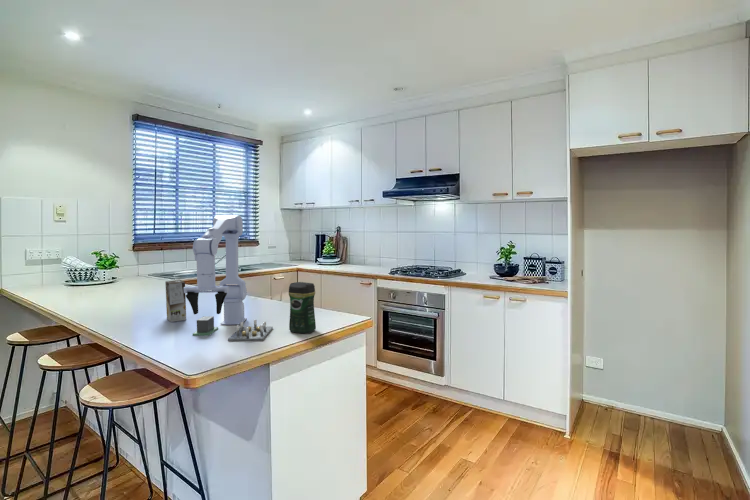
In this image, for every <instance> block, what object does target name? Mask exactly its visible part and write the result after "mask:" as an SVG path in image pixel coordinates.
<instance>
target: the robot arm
mask: <svg viewBox="0 0 750 500" xmlns="http://www.w3.org/2000/svg"><path fill="white" fill-rule="evenodd" d="M212 221H213V222H212V223H213V224H212V225H213V226H212V227H209V228H207V230H206V231H205V232H204V233H203V235H202V236H201V237H200V238H197V239H196V240H194V241H193V244H192V252H193V254H194V261H196V281H197V282H196V285H193V286H185V287H184V293H185V295H186V299H187V301H188V302H189V305H190V306H191V310H192V313H193V315H197V314H198V313H199V294H200V293H201V294H202V293H203V294H204V293H206V294H207V293H210V294H211V293H215V294H214V297H215V302H216V304H215V305H216V306H215V307H216V310H215V311H216V315H220V314H221V313H222V308H223V321H222V322H221V323H220V325H221V326H222V325H231V326H234V325H236V326H237V325H240V322H243V323H244V322H245V321H246V320H247V319H248V317H245V303H244V302H243V301H244V300H245V299H246V297H247V285H246V284H247V283H246V281H245V280H244V279H243V278H242V277H240V276H239V237H240V236H242V235H243V232H244V231H243V227H244V225H243V218H242V216H241V215H240V214H232V215H230V214H223V215H222V214H215V216H214V217H213V219H212ZM223 237H224V239H225V278H223V279H222V280H220V282H219V285H217V284H216V255H217V253H218V248H219V244H220V242H221V241H222V239H223Z"/></svg>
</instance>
